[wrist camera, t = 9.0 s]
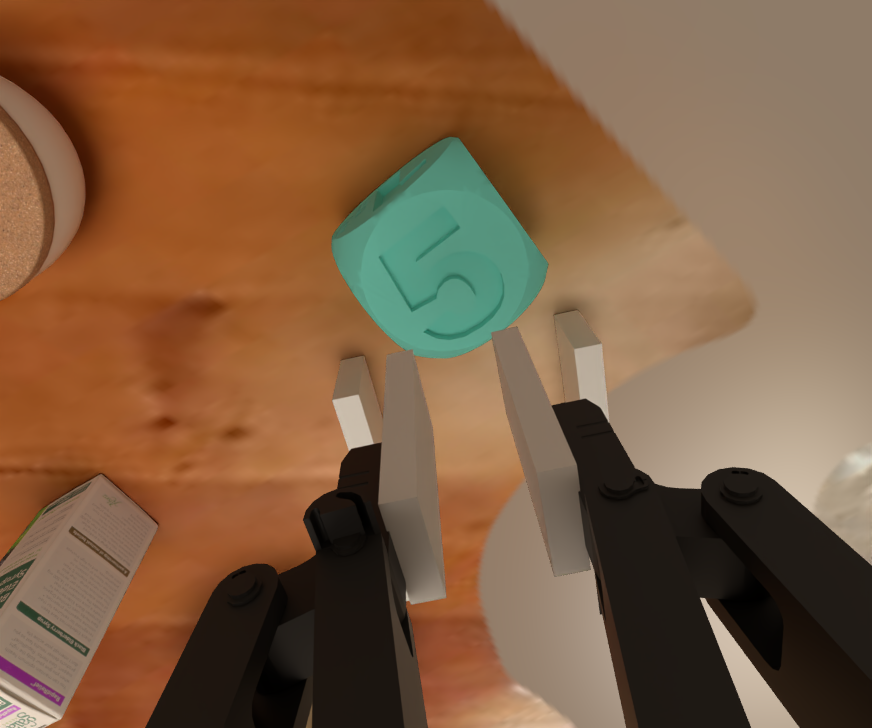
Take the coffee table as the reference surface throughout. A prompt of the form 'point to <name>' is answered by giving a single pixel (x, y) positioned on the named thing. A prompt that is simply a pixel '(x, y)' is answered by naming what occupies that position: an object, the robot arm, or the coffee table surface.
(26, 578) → the syrup box
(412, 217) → the decorative dice
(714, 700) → the robot arm
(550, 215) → the coffee table surface
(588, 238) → the coffee table surface
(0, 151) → the lidded jar
